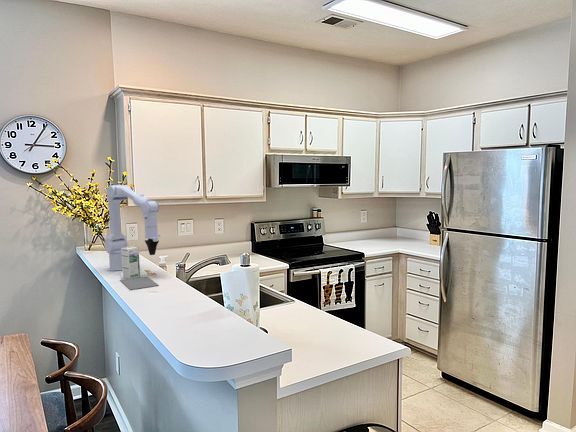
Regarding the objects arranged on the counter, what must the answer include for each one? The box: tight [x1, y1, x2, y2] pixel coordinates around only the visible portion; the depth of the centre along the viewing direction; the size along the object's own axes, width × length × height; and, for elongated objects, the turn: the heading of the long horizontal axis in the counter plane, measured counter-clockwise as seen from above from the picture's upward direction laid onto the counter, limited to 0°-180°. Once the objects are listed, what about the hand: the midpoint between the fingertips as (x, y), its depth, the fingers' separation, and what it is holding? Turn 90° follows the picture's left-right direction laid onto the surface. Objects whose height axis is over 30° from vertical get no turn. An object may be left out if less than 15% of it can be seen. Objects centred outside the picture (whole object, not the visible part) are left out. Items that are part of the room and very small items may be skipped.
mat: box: [119, 275, 160, 291], centre depth 187 cm, size 20×12×1 cm, turn 33°
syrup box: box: [121, 246, 141, 279], centre depth 198 cm, size 6×6×14 cm
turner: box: [144, 268, 157, 276], centre depth 207 cm, size 12×4×1 cm, turn 33°
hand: (152, 254), depth 199 cm, fingers closed
